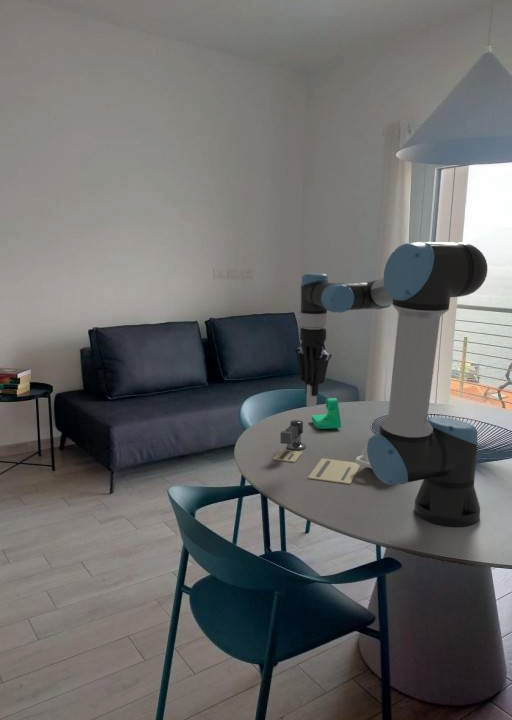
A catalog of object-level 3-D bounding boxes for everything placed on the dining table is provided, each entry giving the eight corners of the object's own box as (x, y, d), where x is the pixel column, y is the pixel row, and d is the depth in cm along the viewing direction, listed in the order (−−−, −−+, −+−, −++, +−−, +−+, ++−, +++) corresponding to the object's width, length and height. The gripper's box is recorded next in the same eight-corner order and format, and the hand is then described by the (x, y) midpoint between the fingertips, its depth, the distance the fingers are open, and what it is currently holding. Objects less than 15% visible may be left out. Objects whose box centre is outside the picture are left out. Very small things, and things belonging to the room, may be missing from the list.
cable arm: (292, 430, 191) (292, 419, 190) (304, 431, 189) (304, 421, 189) (279, 443, 178) (279, 432, 178) (291, 444, 177) (291, 433, 176)
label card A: (294, 462, 176) (294, 461, 176) (272, 459, 178) (272, 458, 178) (302, 452, 184) (303, 451, 184) (281, 450, 186) (281, 449, 186)
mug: (383, 464, 174) (384, 438, 173) (403, 476, 165) (405, 449, 164) (348, 470, 170) (349, 444, 168) (368, 482, 161) (369, 455, 159)
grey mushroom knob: (302, 451, 185) (302, 437, 185) (284, 448, 188) (284, 435, 187) (307, 445, 191) (308, 431, 190) (290, 443, 193) (290, 429, 192)
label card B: (350, 484, 159) (350, 483, 159) (307, 478, 164) (307, 477, 163) (361, 464, 174) (361, 462, 174) (321, 459, 178) (321, 458, 178)
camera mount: (311, 421, 217) (311, 395, 215) (330, 420, 218) (331, 394, 216) (319, 431, 205) (320, 403, 203) (340, 430, 207) (341, 402, 205)
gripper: (338, 328, 167) (336, 408, 172) (307, 323, 177) (305, 398, 182) (320, 331, 162) (318, 412, 167) (288, 325, 172) (287, 402, 177)
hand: (311, 405), depth 174 cm, fingers closed
